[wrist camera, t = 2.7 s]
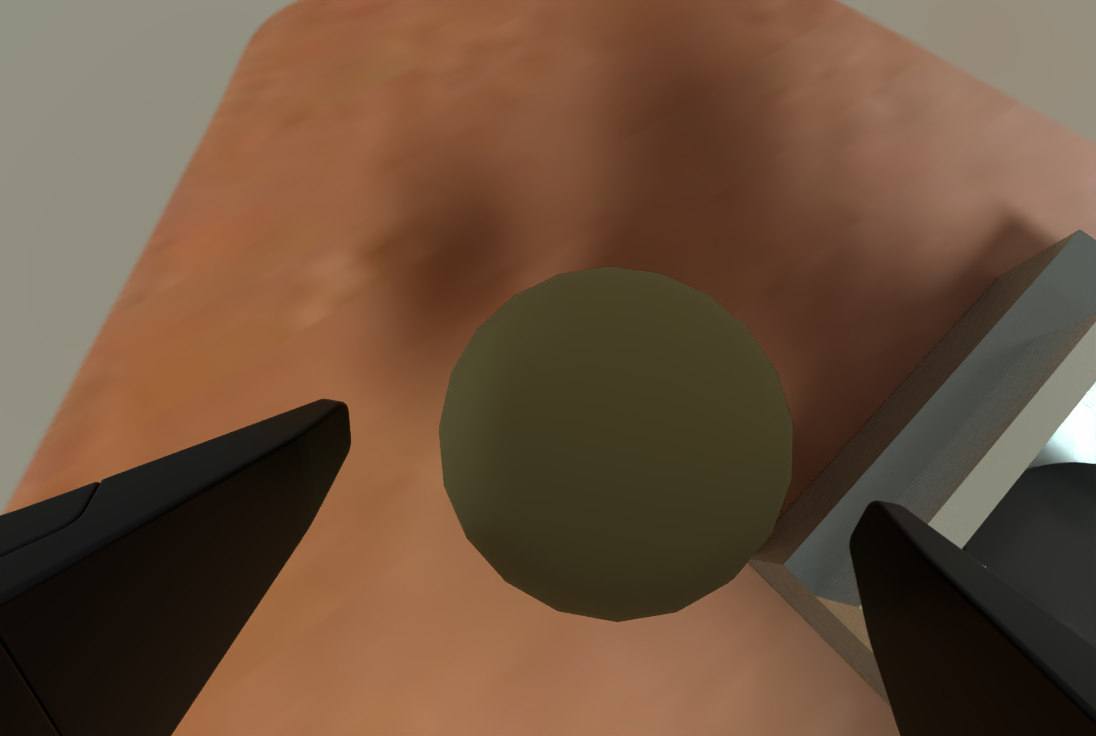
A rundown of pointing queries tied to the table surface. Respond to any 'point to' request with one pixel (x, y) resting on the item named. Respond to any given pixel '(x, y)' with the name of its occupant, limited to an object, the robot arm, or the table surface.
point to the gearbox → (971, 459)
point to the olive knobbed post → (615, 443)
